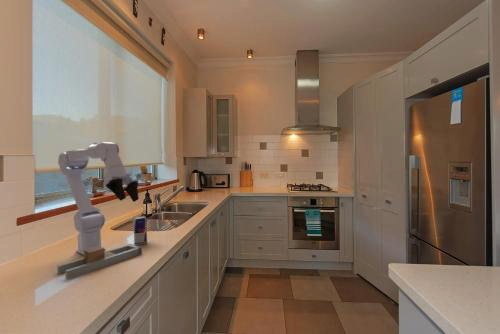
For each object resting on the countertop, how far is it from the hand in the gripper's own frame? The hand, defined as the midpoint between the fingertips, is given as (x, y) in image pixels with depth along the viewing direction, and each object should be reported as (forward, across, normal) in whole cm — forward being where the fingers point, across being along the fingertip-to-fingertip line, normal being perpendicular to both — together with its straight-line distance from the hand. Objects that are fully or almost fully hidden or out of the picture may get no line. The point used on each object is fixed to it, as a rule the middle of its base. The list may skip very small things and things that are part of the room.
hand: (129, 199), depth 93 cm
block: (+14, +3, +22) cm, 26 cm away
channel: (+14, +3, +22) cm, 26 cm away
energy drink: (+11, +25, +18) cm, 33 cm away
